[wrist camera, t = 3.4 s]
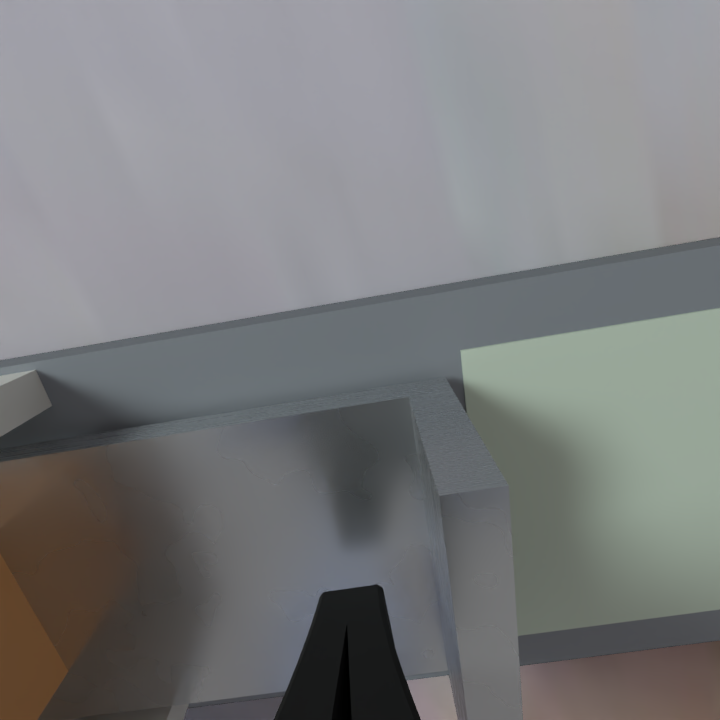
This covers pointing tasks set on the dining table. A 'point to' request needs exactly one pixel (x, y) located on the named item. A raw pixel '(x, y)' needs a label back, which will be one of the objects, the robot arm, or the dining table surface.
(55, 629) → the sled
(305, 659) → the robot arm
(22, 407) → the tunnel
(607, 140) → the dining table surface
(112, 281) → the dining table surface
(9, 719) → the block
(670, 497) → the track base
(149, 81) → the dining table surface
